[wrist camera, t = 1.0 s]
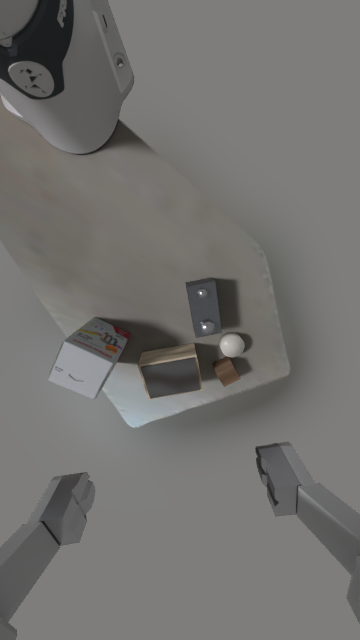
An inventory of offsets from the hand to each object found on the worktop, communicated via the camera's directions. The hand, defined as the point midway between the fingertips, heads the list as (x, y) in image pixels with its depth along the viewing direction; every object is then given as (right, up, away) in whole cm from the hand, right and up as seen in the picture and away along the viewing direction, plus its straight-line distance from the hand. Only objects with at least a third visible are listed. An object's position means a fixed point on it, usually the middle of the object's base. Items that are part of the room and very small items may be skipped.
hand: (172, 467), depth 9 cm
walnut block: (+11, -4, +35) cm, 36 cm away
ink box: (-16, +3, +32) cm, 35 cm away
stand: (-1, -3, +34) cm, 34 cm away
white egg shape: (+12, +2, +32) cm, 35 cm away
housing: (+5, +10, +29) cm, 31 cm away
